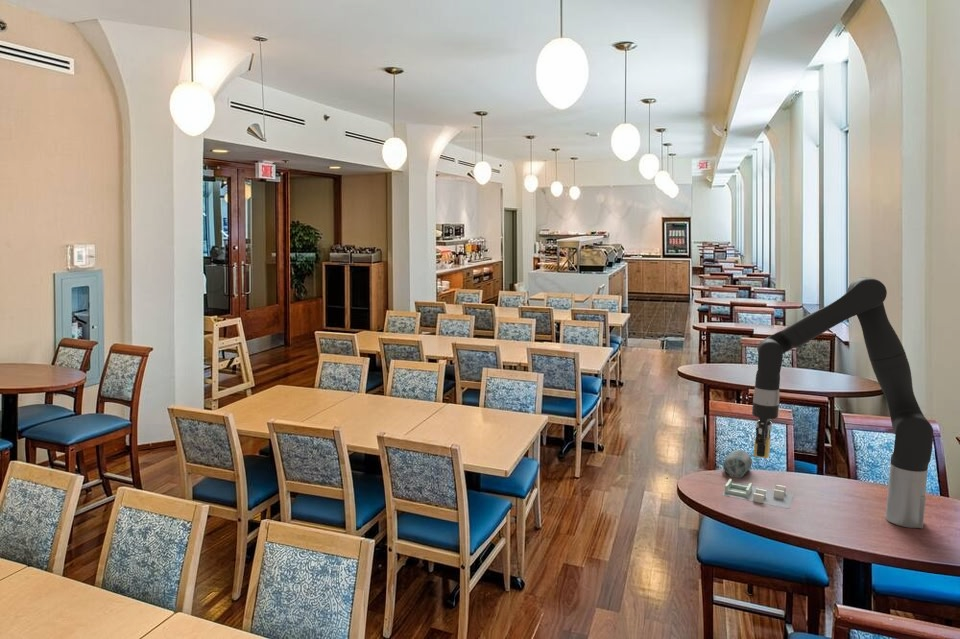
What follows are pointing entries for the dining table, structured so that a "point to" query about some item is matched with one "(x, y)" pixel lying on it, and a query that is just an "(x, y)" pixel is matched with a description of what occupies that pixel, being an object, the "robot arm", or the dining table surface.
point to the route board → (768, 500)
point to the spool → (737, 463)
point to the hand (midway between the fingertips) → (761, 453)
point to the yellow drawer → (767, 447)
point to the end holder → (747, 488)
